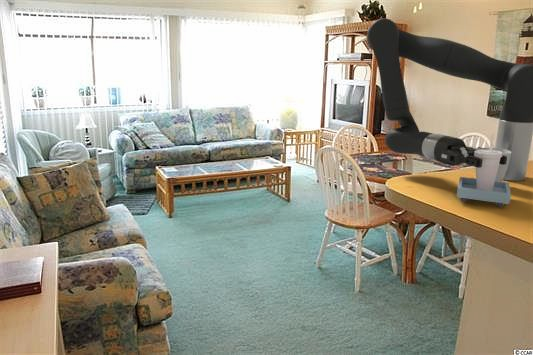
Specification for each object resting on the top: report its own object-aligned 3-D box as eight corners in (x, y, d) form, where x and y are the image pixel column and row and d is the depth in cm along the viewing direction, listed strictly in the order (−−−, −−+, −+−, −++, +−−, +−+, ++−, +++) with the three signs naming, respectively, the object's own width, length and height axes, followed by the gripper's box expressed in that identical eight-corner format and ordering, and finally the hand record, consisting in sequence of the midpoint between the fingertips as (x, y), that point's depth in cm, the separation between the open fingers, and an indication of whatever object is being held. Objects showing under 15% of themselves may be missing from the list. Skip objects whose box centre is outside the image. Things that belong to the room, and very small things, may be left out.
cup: (502, 182, 130) (507, 148, 127) (508, 190, 122) (514, 154, 119) (472, 179, 132) (476, 146, 129) (476, 187, 124) (481, 152, 122)
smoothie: (502, 193, 109) (508, 136, 106) (473, 192, 111) (479, 136, 107) (494, 186, 115) (500, 132, 112) (468, 185, 117) (472, 132, 113)
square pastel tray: (458, 191, 120) (460, 176, 119) (506, 197, 116) (508, 182, 115) (455, 203, 110) (457, 187, 109) (508, 210, 105) (511, 194, 104)
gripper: (425, 137, 119) (475, 149, 105) (464, 134, 125) (516, 145, 110) (421, 164, 121) (470, 179, 107) (460, 160, 127) (511, 174, 112)
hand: (493, 162), depth 109 cm, fingers open, 8 cm apart
